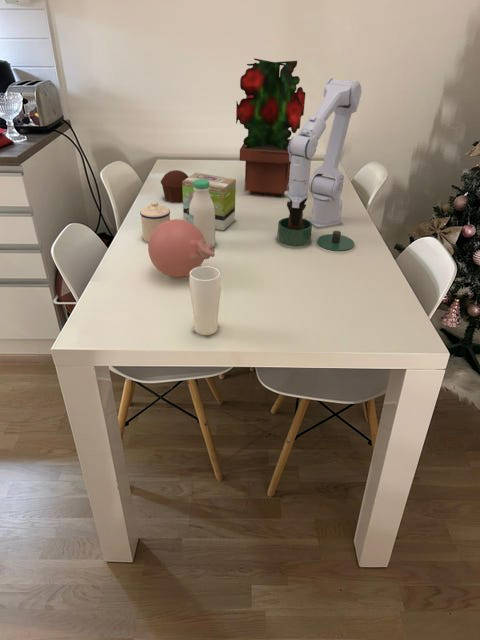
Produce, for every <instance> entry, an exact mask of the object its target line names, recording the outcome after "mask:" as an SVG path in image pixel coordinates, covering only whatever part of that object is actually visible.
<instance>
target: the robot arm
mask: <svg viewBox="0 0 480 640" xmlns="http://www.w3.org/2000/svg"><path fill="white" fill-rule="evenodd" d="M361 97H362V85H361V82H360V81H358V80H355V81H354V80H347V79H337V78H333V77H330V78H329V79H328V80H327V81H326V82H325V85H324V88H323V98H322V101H321V102H320V105H319V106H318V108H317V110H316V113H315V114H312V115H310V116H309V117H308V118H307V120H306V121H305V123H304V125H302V127H301V128H300V131H299V132H298V134H295V135H293V136H291V137H290V139H291V140H290V142H289V146H288V153H289V160H290V162H291V164H290V177H289V183H288V190H287V191H285V194H284V196H287V197H288V200H289V201H286V207H287V209H288V212H289V214H290V219H291V225H296V226H298V225H299V222H300V218H301V214H302V212H303V213H304V210H305V209H306V207H307V204H306V203H307V201H308V199H309V193H310V194H311V197H312V198H313V200H312V208H311V216H309V217H306V218H305V219H306V220H308V221H310V222H311V223H312V225H315V226H316V227H317V228H320V227H326V226H331V225H338V224H342V221H341V218H342V211H343V200H342V198H341V195H342V192H343V188H344V179H345V176H344V174H343V173H342V171H341V170H340V169H339V165H340V160H341V156H342V153H343V149H344V145H345V141H346V137H347V133H348V129H349V125H350V121H351V118H352V115H353V114H354V113H356V112H357V111H358V107H359V104H360V101H361ZM333 113H334V116H333V120H332V125H331V129H330V132H329V137H328V141H327V146H326V149H325V153H324V158H323V161H322V165H321V166H319V167H317V168H315V170H314V171H313V172H312V173H313V174H312V176H311V178H310V175H311V166H312V158H313V157H314V156H315V154H316V152H317V147H318V145H319V140H320V138H321V137H322V135H323V134H324V132H325V130H326V128H327V123H326V122H327V120H328V119H329V118H330V116H331V115H332V114H333Z"/></svg>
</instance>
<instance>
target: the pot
mask: <svg viewBox="0 0 480 640" xmlns="http://www.w3.org/2000/svg"><path fill="white" fill-rule="evenodd" d="M288 223H289V216H288V217H284V218H281V219H279V221H278V223H277V237H276V240H277V241H278V243H280V244H282V245H284V246H288V247H297V248H298V247H304V246H307V245H309V244H311V239H312V231H313V223H312V222H310V221H309V220H308V219H306V218H303V220H302V227H301V229H291V228H288Z"/></svg>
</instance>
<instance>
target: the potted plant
mask: <svg viewBox="0 0 480 640" xmlns="http://www.w3.org/2000/svg"><path fill="white" fill-rule="evenodd" d="M253 60H254V61H257V62H253V63H246V66H249V67H248V68H246V70H245V73H243V74H242V75H241V76H240V80H239V83H240V84H239V88H240V90H242V91H244V94H245V96H246V97H245V98H242V99H240V101H239V103H238V101H236V108H235V109H236V111H235V113H236V114H235V115H236V116H235V120H236V121H235V125H237V124H238V121H239V124H240V125H242V126H243V128H244V129H245V130H247V136H245V137H244V138H243V144H242V145H241V147H240V148H239V162H245V166H244V167H245V169H244V191H245V192H250V195H255V196H266V197H279V198H280V197H282V195H283V194H285V191H288V188H289V181H290V168H291V162H290V160H289V153H288V146H289V142H290V140H291V137H292V133H293V134H296V133H297V131H298V130H301V118H302V117H303V116H305V115H304V113H305V104H306V92H305V91H304V89H303V87H302V86H299V87H297V85H299V83H300V82H301V79H300V76H298V75H295V76H293V73H294V71H295V68H296V67H297V65H298V60H287V61H286V60H285V61H270V60H265V59H261V58H260V59H259V58H253ZM250 66H251V67H250ZM281 66H282V68H281Z"/></svg>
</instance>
